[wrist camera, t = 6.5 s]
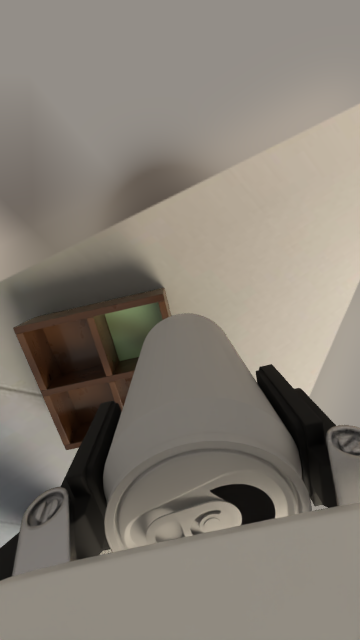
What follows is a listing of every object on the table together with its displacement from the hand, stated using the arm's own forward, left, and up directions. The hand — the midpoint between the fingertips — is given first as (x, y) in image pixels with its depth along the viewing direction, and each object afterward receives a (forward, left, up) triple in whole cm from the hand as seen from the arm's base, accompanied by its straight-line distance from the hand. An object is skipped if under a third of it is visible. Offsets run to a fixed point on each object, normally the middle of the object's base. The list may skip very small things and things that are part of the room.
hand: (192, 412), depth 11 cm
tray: (+6, -10, -22) cm, 25 cm away
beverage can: (0, 0, -7) cm, 7 cm away
